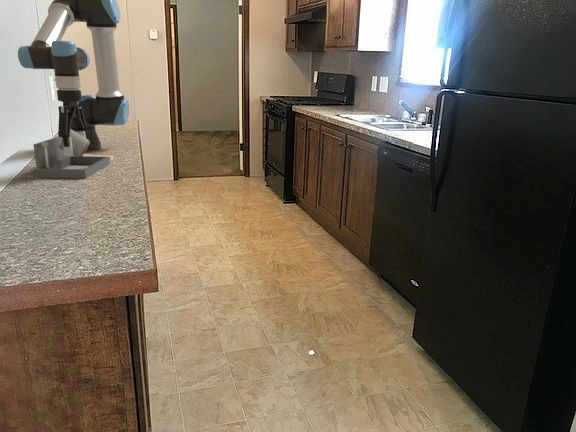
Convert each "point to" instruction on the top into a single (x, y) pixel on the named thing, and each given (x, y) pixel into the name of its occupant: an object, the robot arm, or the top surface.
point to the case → (64, 161)
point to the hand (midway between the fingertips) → (76, 152)
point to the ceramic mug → (77, 144)
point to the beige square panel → (102, 155)
